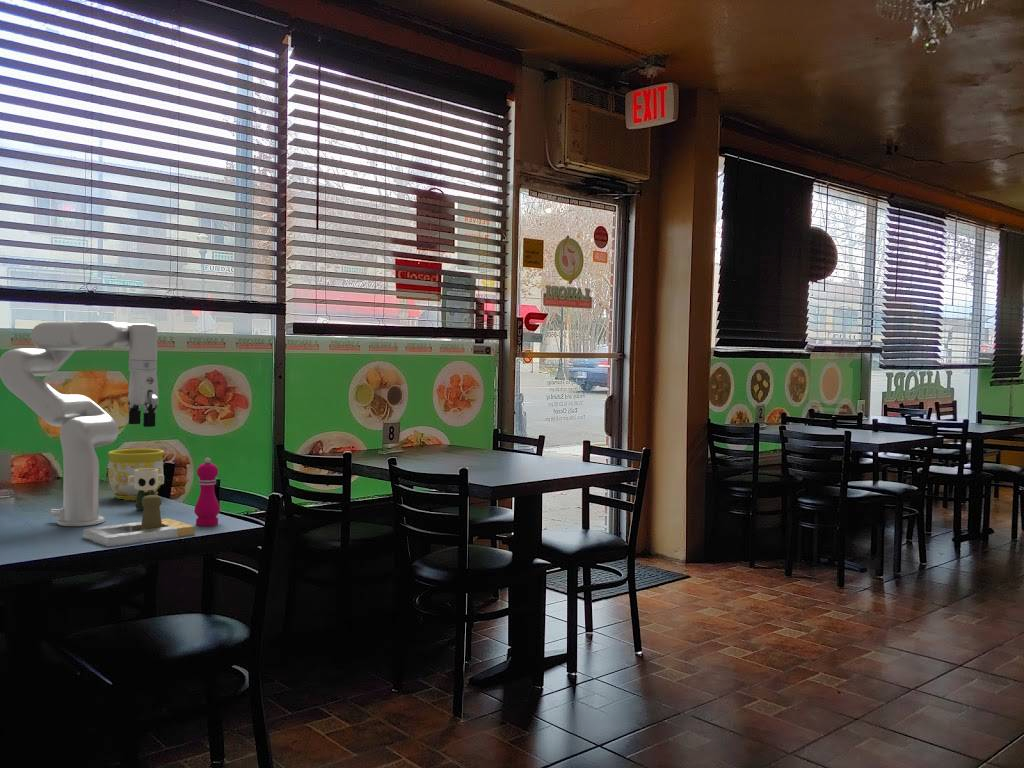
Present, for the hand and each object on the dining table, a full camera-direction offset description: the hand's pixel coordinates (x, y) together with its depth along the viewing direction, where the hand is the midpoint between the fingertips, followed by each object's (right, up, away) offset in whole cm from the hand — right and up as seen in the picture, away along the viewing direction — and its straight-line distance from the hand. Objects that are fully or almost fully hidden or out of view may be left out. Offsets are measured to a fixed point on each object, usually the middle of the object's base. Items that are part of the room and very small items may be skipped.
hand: (141, 425), depth 255 cm
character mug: (-12, -29, +31) cm, 44 cm away
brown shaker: (+6, -31, -8) cm, 32 cm away
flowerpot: (-24, -28, +53) cm, 65 cm away
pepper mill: (+16, -30, +8) cm, 35 cm away
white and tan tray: (+4, -30, -11) cm, 32 cm away
